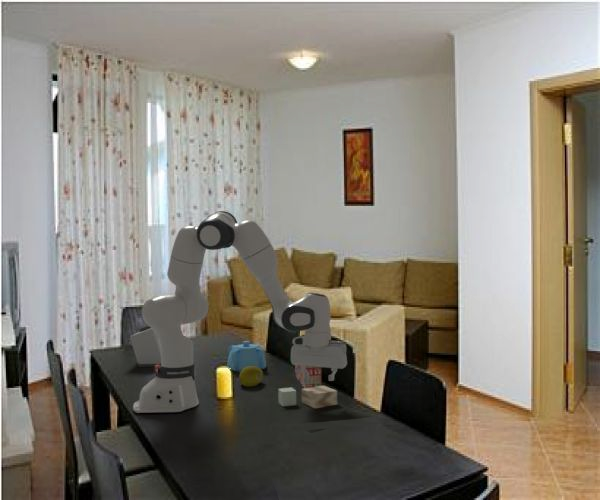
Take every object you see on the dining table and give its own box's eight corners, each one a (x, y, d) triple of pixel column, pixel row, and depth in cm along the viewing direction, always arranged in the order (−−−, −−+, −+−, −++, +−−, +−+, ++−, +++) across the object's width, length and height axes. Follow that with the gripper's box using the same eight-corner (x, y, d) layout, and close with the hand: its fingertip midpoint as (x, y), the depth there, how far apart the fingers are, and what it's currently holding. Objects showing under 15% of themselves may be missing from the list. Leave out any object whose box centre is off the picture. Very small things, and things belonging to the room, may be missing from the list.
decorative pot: (265, 368, 272) (264, 337, 272) (266, 376, 256) (266, 343, 256) (228, 369, 271) (227, 338, 270) (227, 377, 255) (226, 345, 254)
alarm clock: (166, 372, 266) (165, 326, 266) (130, 373, 267) (129, 326, 267) (177, 363, 287) (176, 319, 286) (144, 363, 288) (143, 320, 287)
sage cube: (282, 406, 210) (282, 392, 210) (278, 402, 215) (278, 388, 215) (296, 405, 212) (296, 390, 212) (292, 401, 217) (291, 387, 216)
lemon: (244, 390, 232) (243, 369, 232) (234, 386, 239) (234, 366, 239) (268, 386, 238) (268, 366, 238) (258, 382, 245) (258, 362, 245)
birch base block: (314, 409, 207) (314, 394, 207) (301, 403, 215) (301, 388, 215) (337, 405, 211) (337, 390, 211) (323, 399, 219) (323, 385, 219)
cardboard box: (294, 379, 250) (294, 349, 249) (309, 378, 251) (309, 348, 251) (305, 392, 229) (305, 359, 229) (322, 391, 230) (321, 358, 230)
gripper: (349, 339, 211) (350, 379, 211) (296, 336, 220) (296, 374, 220) (342, 342, 205) (343, 383, 206) (288, 339, 214) (288, 378, 214)
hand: (318, 379), depth 213 cm, fingers open, 8 cm apart
